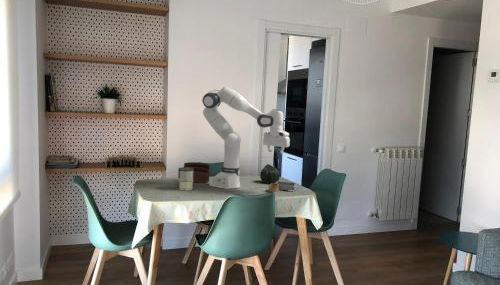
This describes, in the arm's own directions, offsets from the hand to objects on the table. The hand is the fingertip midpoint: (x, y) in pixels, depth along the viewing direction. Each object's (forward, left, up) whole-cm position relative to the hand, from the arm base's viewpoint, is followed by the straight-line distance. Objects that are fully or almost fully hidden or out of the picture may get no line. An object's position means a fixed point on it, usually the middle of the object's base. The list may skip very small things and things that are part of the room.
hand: (275, 152), depth 284 cm
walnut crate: (0, 0, -28) cm, 28 cm away
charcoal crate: (+6, +12, -28) cm, 31 cm away
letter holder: (-61, +4, -28) cm, 67 cm away
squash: (-10, +29, -28) cm, 42 cm away
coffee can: (-57, -23, -28) cm, 67 cm away
